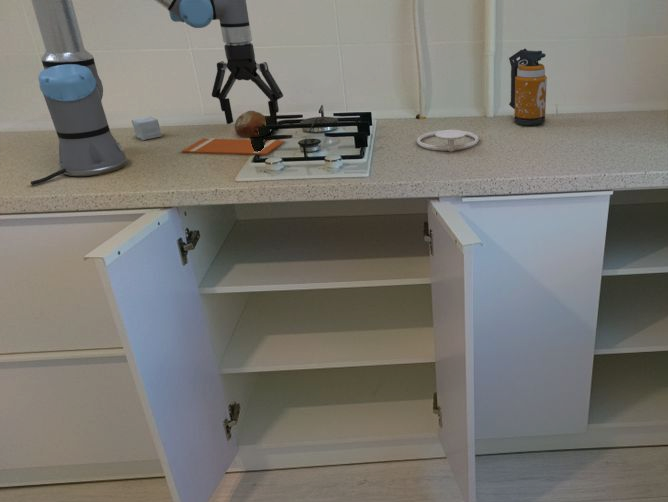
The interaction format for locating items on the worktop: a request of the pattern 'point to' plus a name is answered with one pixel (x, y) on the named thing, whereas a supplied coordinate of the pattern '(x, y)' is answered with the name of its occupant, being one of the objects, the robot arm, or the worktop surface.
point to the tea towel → (231, 147)
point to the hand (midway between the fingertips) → (252, 123)
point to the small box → (146, 128)
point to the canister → (528, 87)
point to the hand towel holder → (449, 136)
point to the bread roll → (249, 124)
